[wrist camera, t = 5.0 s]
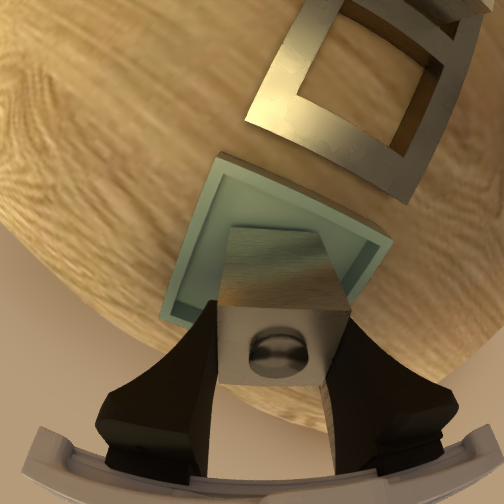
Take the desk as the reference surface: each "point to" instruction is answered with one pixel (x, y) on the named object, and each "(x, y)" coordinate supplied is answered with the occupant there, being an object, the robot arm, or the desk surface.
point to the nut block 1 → (278, 309)
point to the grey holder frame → (342, 132)
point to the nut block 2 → (450, 9)
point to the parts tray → (264, 217)
